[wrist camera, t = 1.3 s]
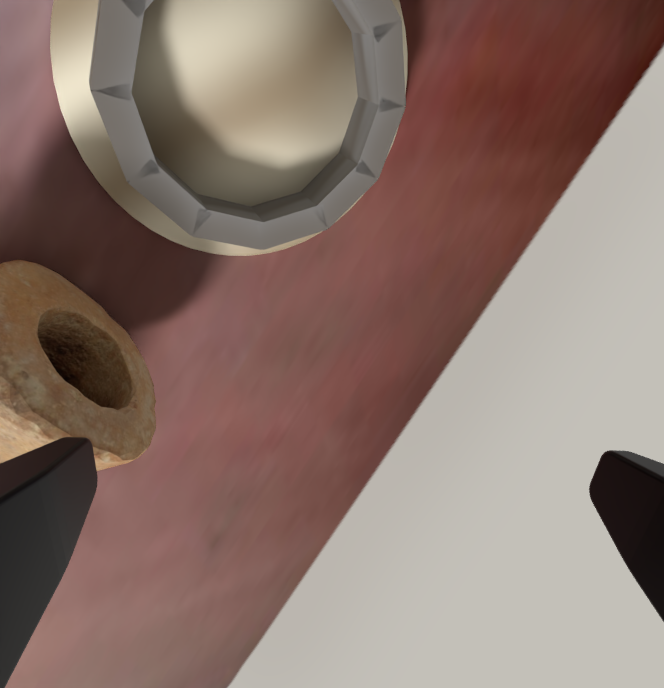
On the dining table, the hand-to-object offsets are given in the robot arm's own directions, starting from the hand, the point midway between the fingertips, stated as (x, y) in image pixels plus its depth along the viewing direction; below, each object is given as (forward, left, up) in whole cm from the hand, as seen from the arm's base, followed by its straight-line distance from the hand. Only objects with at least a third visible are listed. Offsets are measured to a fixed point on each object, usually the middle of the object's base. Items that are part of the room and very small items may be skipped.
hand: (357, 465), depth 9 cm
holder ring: (-1, +4, -17) cm, 17 cm away
